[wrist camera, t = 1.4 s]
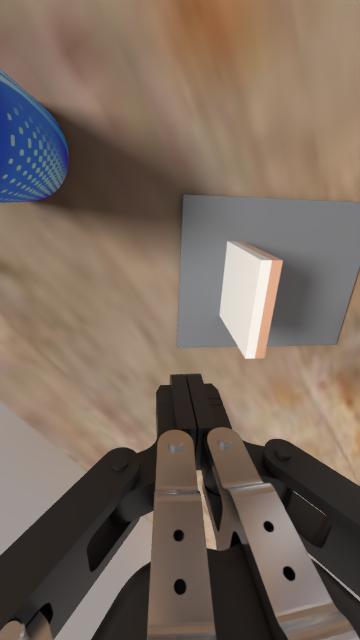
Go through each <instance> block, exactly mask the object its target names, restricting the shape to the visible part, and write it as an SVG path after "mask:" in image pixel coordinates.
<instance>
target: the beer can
mask: <svg viewBox="0 0 360 640" xmlns="http://www.w3.org/2000/svg"><path fill="white" fill-rule="evenodd" d="M68 164H69V154H68V147H67V143H66V140H65V137H64V134H63V132H62V130H61V128H60V126H59V124H58V123H57V121H56V120H55V118H54V117H53V116H52V115H51V113H50V112H49V111H48V110H47V109H46V108H45V107H43V106H42V105H41V104H40V103H39V102H38V101H37V100H35V99H34V98H33V97H32V96H31V95H30V94H28V93H27V92H26V91H25V90H24V89H23V88H22V87H20V86H19V85H18V84H17V83H16V82H15V81H13V80H12V79H11V78H10V77H9V76H8V75H6V74H5V73H4V72H3V71H2V70H1V69H0V203H6V202H27V201H38V200H42V199H45V198H47V197H49V196H51V195H52V194H53V193H55V192H56V191H57V190H58V189H59V188H60V186H61V185H62V183H63V181H64V179H65V177H66V174H67V171H68Z"/></svg>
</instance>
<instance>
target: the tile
mask: <svg viewBox="0 0 360 640" xmlns="http://www.w3.org/2000/svg"><path fill="white" fill-rule="evenodd" d="M282 263H283V260H281V259H279V258H277V257H275V256H273V255H271V254H268V253H266V252H264V251H262V250H260V249H258V248H256V247H254V246H252V245H250V244H247V243H245V242H243V241H227V249H226V258H225V268H224V277H223V287H222V296H221V305H220V315H219V316H220V317H221V319H222V321H223V322H224V324H225V326H226V327H227V329H228V331H229V332H230V334H231V335H232V337H233V339H234V340H235V342H236V344H237V345H238V347H239V349H240V350H241V352H242V354H243V355H244V357H245V359H246V358H264V357H265V351H266V346H267V341H268V336H269V331H270V325H271V320H272V315H273V310H274V305H275V299H276V294H277V289H278V284H279V279H280V273H281V268H282Z"/></svg>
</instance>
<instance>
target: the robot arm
mask: <svg viewBox="0 0 360 640" xmlns="http://www.w3.org/2000/svg"><path fill="white" fill-rule="evenodd" d="M156 425H157V440H156V442H155V443H154V444H153V445H152V446H151V447H150V448H148V449H147V450H144V451H142V452H139V453H136V452H135V451H134V450H132V449H129V448H125V447H121V448H116V449H113V450H111V451H109V452H108V453H107V454H106V455H105V456H104V457H102V458H101V459H100V460H99V461H98V462H97V463H96V464H95V465H94V466H93V467H92V468H91V469H90V470H89V471H88V472H87V473H86V474H85V475H84V476H83V477H82V478H81V479H80V480H79V481H78V482H76V483H75V484H74V485H73V486H72V487H71V488H70V489H69V490H68V491H67V492H66V493H65V494H64V495H63V496H62V497H61V498H60V499H59V500H58V501H57V502H56V503H55V504H54V505H52V507H51V508H49V509H48V510H47V511H46V512H45V513H44V514H43V515H42V516H41V517H40V518H39V519H38V520H37V521H36V522H35V523H34V524H33V525H32V526H31V527H30V528H29V529H27V530H26V531H25V532H24V533H23V534H22V535H21V536H20V537H19V538H18V539H17V540H16V541H15V542H14V543H13V544H12V545H11V546H10V547H9V548H8V549H7V550H6V551H5V552H4V553H3V554H1V555H0V640H54V638H55V637H56V636H57V634H58V633H59V631H60V630H61V629H62V627H63V626H64V624H65V623H66V622H67V620H68V619H69V618H70V616H71V615H72V613H73V612H74V611H75V609H76V608H77V606H78V605H79V604H80V602H81V601H82V599H83V598H84V597H85V595H86V594H87V592H88V591H89V589H90V588H91V587H92V585H93V584H94V583H95V581H96V580H97V578H98V577H99V576H100V574H101V573H102V572H103V570H104V569H105V567H106V566H107V565H108V563H109V562H110V560H111V559H112V557H113V556H114V555H115V553H116V552H117V550H118V549H119V548H120V546H121V545H122V544H123V542H124V541H125V539H126V538H127V537H128V535H129V534H130V532H131V531H132V530H133V528H134V527H135V525H136V524H137V523H138V521H139V519H140V517H141V516H143V515H145V514H147V513H150V512H152V511H154V512H153V533H152V551H151V562H149V563H148V564H146V565H145V566H143V567H142V568H140V569H139V570H138V571H137V572H136V573H135V574H134V575H133V576H132V577H131V578H130V579H129V580H128V581H127V582H126V584H125V585H124V586H123V588H122V589H121V591H120V592H119V594H118V596H117V597H116V599H115V600H114V602H113V604H112V605H111V607H110V609H109V611H108V612H107V614H106V615H105V617H104V619H103V621H102V622H101V624H100V626H99V627H98V629H97V631H96V632H95V634H94V636H93V637H92V639H91V640H360V601H359V600H358V599H357V598H355V597H354V596H353V595H352V594H351V593H350V592H349V591H348V590H346V588H344V587H343V586H342V585H341V584H340V583H339V582H338V581H337V580H336V579H335V578H333V577H332V576H331V575H330V574H329V573H328V572H327V571H326V570H325V569H323V568H322V567H321V566H320V565H319V564H318V563H316V562H315V561H314V560H312V559H311V558H310V557H309V555H308V553H309V554H310V555H311V556H313V557H314V558H315V559H316V560H317V561H319V562H320V563H321V564H322V565H323V566H324V567H325V568H326V569H328V570H329V571H330V572H331V573H332V574H334V575H335V576H336V577H337V578H338V579H339V580H340V581H342V582H343V583H344V584H345V585H346V586H347V587H349V588H350V589H351V590H352V591H353V592H354V593H355V594H357V595H358V596H359V597H360V486H358V485H357V484H355V483H353V482H352V481H350V480H349V479H347V478H346V477H344V476H342V475H341V474H339V473H338V472H336V471H334V470H333V469H331V468H330V467H328V466H326V465H325V464H323V463H322V462H320V461H319V460H317V459H315V458H314V457H312V456H311V455H309V454H307V453H306V452H304V451H303V450H301V449H300V448H298V447H296V446H295V445H293V444H292V443H290V442H288V441H286V440H282V439H272V440H269V441H268V442H267V443H266V444H265V447H264V446H259V445H255V444H251V443H247V442H245V441H243V440H242V439H241V437H240V436H239V435H238V434H237V433H236V432H235V431H233V430H232V427H231V424H230V422H229V419H228V416H227V413H226V411H225V408H224V406H223V403H222V400H221V397H220V394H219V392H218V390H217V389H216V388H215V387H214V386H213V385H212V384H204V383H203V380H202V376H201V374H186V375H185V374H176V375H170V385H160V387H159V389H158V390H157V392H156ZM196 470H201V471H202V476H203V481H202V490H203V493H204V497H205V501H206V505H207V508H208V512H209V516H210V520H211V523H212V527H213V531H214V535H215V540H216V549H217V550H213V549H208V548H206V539H205V530H204V520H203V510H202V501H201V494H200V491H198V486H197V475H196ZM294 491H295V492H296V493H297V494H296V493H295V492H294ZM298 494H299V495H300V496H301V497H300V496H299V495H298ZM302 497H303V498H304V499H306V500H307V501H308V502H310V503H311V504H312V505H314V506H315V507H316V508H318V509H319V510H320V511H322V512H323V513H324V514H325V515H324V514H323V513H322V512H320V511H319V510H318V509H316V508H315V507H314V506H312V505H311V504H310V503H308V502H307V501H306V500H304V499H303V498H302ZM307 552H308V553H307Z"/></svg>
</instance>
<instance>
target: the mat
mask: <svg viewBox="0 0 360 640" xmlns="http://www.w3.org/2000/svg"><path fill="white" fill-rule="evenodd" d="M227 241H243V242H245V243H247V244H250V245H252V246H254V247H256V248H258V249H260V250H262V251H264V252H266V253H268V254H271V255H273V256H275V257H277V258H279V259H281V260H283V263H282V268H281V273H280V279H279V284H278V289H277V294H276V299H275V305H274V310H273V315H272V320H271V325H270V331H269V336H268V341H267V346H293V345H336V342H337V339H338V336H339V332H340V329H341V326H342V323H343V319H344V316H345V313H346V310H347V306H348V303H349V300H350V297H351V293H352V290H353V287H354V284H355V281H356V277H357V274H358V271H359V268H360V202H339V201H317V200H295V199H273V198H251V197H228V196H206V195H184V194H183V207H182V232H181V256H180V281H179V306H178V330H177V348H191V347H238V345H237V344H236V342H235V340H234V339H233V337H232V335H231V334H230V332H229V331H228V329H227V327H226V326H225V324H224V322H223V321H222V319H221V317H220V316H219V315H220V305H221V296H222V287H223V277H224V268H225V258H226V249H227Z"/></svg>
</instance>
